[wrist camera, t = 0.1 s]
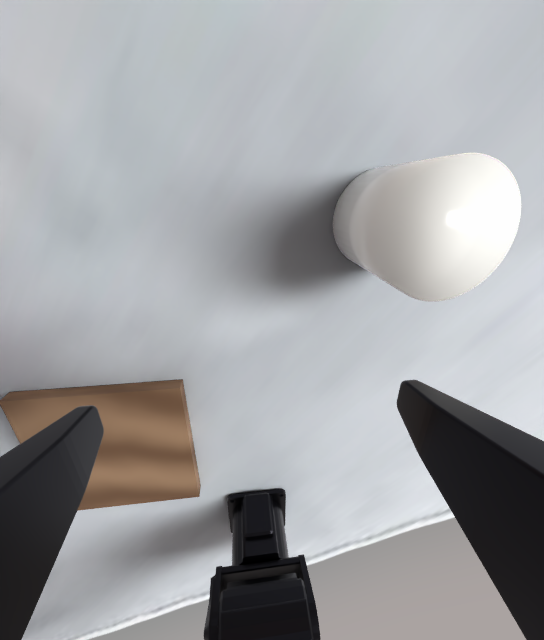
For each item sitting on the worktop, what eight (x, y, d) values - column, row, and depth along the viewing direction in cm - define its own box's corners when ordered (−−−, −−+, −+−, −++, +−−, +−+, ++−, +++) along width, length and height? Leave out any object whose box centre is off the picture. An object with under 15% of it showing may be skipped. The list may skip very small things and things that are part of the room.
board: (200, 485, 31) (199, 496, 30) (62, 500, 29) (55, 512, 28) (182, 379, 25) (180, 388, 24) (9, 392, 24) (-2, 401, 22)
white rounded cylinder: (413, 264, 23) (494, 298, 16) (329, 267, 22) (373, 304, 15) (433, 166, 20) (543, 153, 13) (336, 166, 19) (396, 152, 12)
